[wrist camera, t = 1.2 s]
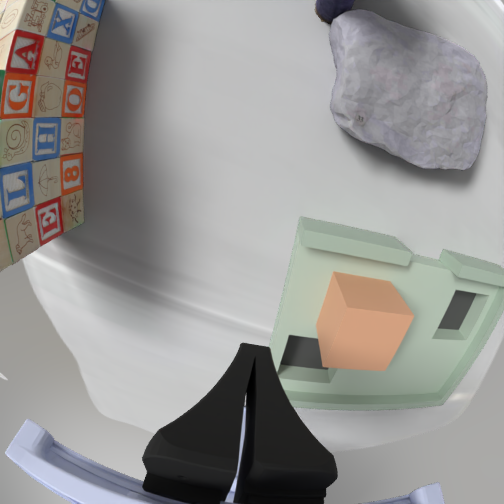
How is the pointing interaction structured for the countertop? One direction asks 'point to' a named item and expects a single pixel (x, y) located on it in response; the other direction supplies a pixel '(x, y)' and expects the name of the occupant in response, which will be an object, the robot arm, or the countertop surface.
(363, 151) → the countertop surface
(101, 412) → the countertop surface
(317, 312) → the board
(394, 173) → the countertop surface
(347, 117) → the stone block
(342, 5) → the flask
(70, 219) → the stack of blocks
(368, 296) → the block
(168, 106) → the countertop surface
